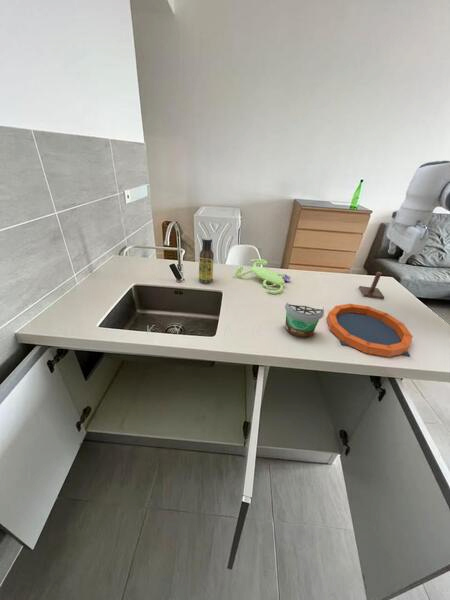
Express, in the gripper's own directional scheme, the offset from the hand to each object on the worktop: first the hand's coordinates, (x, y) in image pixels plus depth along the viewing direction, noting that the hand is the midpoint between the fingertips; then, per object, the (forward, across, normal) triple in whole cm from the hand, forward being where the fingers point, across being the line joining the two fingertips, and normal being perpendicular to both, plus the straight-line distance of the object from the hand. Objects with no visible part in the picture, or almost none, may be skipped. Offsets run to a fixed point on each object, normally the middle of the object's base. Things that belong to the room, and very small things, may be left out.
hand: (395, 257), depth 86 cm
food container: (+21, -25, +31) cm, 45 cm away
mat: (+21, -17, +8) cm, 29 cm away
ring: (+21, -17, +8) cm, 28 cm away
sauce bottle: (+20, +3, +71) cm, 74 cm away
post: (+21, +13, -2) cm, 25 cm away
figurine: (+21, +13, +46) cm, 52 cm away
